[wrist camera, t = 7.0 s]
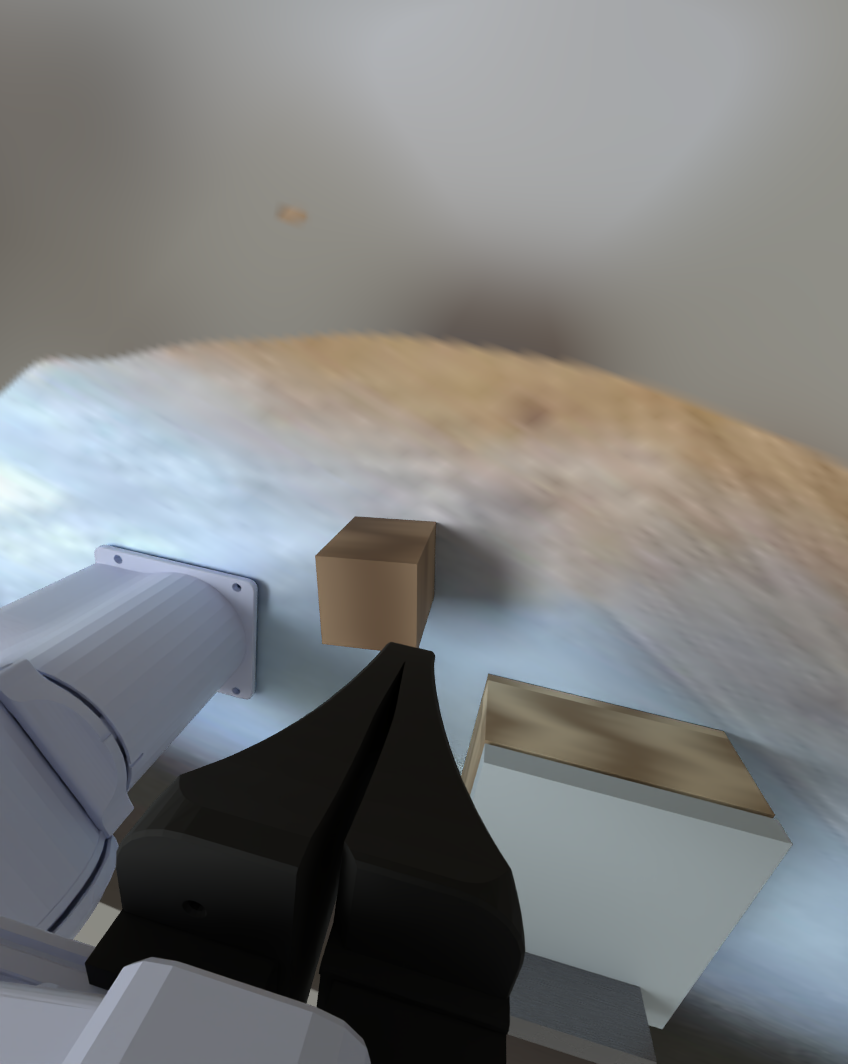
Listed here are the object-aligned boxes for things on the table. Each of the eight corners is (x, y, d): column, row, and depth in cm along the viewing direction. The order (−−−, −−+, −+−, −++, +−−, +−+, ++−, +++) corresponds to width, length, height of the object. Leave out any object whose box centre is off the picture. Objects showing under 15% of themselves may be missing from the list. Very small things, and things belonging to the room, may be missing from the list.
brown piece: (442, 847, 28) (431, 929, 24) (488, 673, 23) (485, 739, 19) (631, 901, 27) (654, 997, 23) (723, 731, 22) (775, 815, 18)
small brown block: (358, 588, 23) (322, 644, 18) (355, 516, 22) (315, 556, 17) (434, 596, 22) (416, 654, 18) (435, 521, 21) (417, 563, 16)
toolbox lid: (430, 933, 24) (419, 1020, 21) (484, 743, 19) (481, 819, 16) (655, 1002, 23) (681, 1106, 20) (777, 819, 18) (838, 919, 15)
